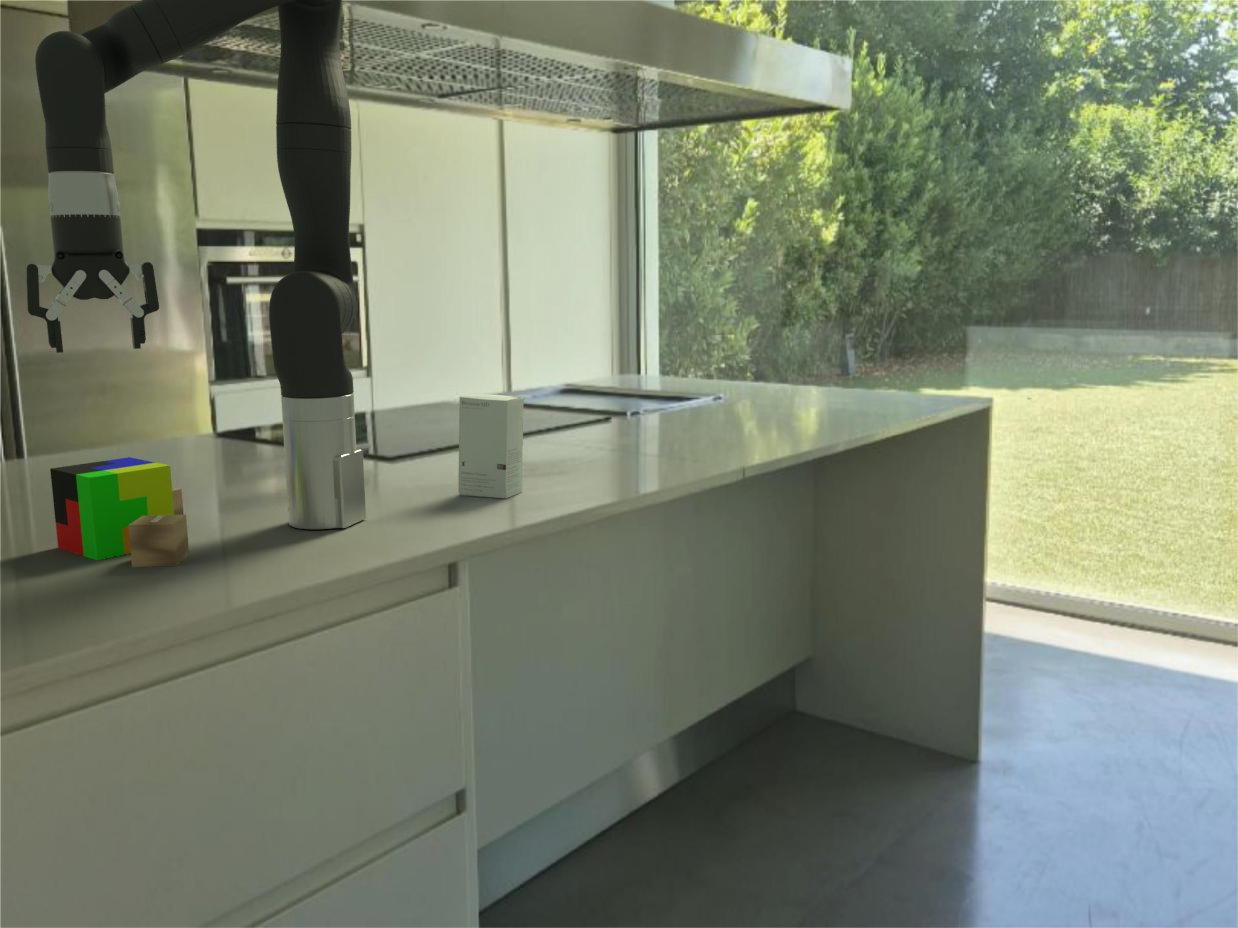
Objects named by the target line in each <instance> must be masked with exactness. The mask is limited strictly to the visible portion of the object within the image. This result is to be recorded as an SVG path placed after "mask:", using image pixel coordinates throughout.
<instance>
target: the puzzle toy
mask: <svg viewBox="0 0 1238 928" xmlns="http://www.w3.org/2000/svg"><path fill="white" fill-rule="evenodd" d="M171 470H172V469H171V465H169V464H165V463H160V462H155V461H150V460H144V459H140V458H136V457H130V456H129V457H122V458H115V459H109V460H107V459H106V460H101V461H94V462H88V463H81V464H74V465H73V464H72V465H66V466H60V467H59V466H58V467H52V468H50V480H51V488H52V490H51V491H52V500H53V501H52V502H53V510H54V511H53V512H54V521H55V531H56V539H57V541H56V542H57V548H58V549H61V550H64V551H68V552H70V553H73V554H77V555H79V556H83V557H86V558H89V559H92V560H94V561H101V560H106V559H105V558H107V559H110V558H115V557H114V556H116V557H119V556H120V555H121V556H124V555H123V554H126V555H130V554H129V553H131V550H130V539H129V527H128V525H130V524H131V523H133V522H134V521H136V520H137V519H139V518H140V517H142V516H152V515H174V507H173V495H172V488H173V487H172V486H173V485H172V473H171Z"/></svg>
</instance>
